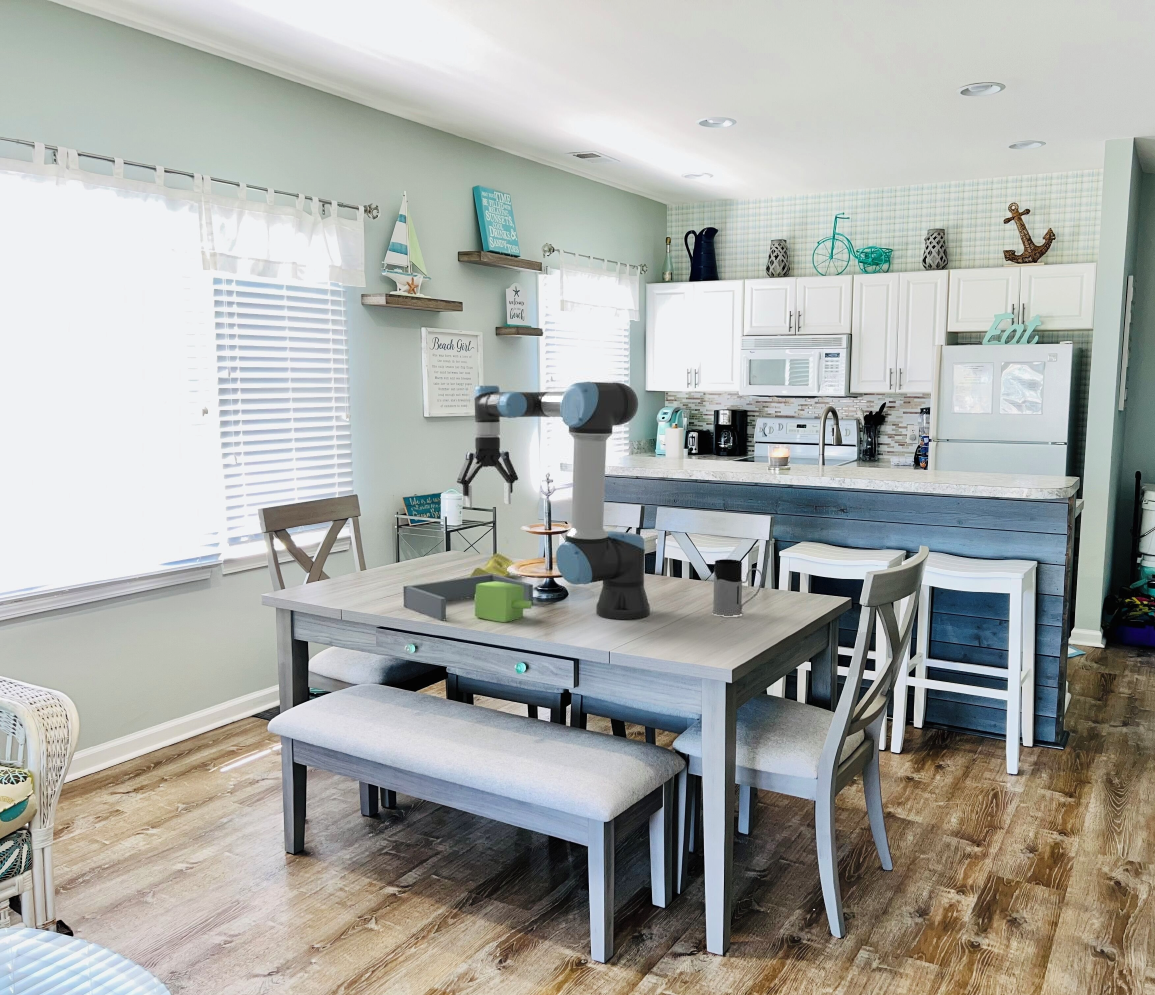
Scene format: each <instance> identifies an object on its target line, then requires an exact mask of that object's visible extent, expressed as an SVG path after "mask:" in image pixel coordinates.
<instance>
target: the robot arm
mask: <svg viewBox="0 0 1155 995" xmlns="http://www.w3.org/2000/svg"><path fill="white" fill-rule="evenodd" d="M473 399H474V400H473V401H474V420H475V421H474V423H475V424H474V425H475V426H474V428H475V430H474V431H475V432H474V433H475V434H474V435H475V436H476V437H475V438H474V440H475V441H474V442H475V444H474V445H475V452H466V453H465V461H464V463H463V464H462V468H461V470H460V472H459V475H458V477H457V480H456V483H457V484H459V485H462V495H463V496H464V498H465V499H464V500H465V507H467V508H472V507H473V488H472V487H473V486H472V485H470V484H471V483H472V481H473V480H474V478H475V477H476V476H477V474H478V472H479V471H480V470H481V469H482V468H488V467H491V468H493V467H494V468H495V469H496V470H497V472H498V473H499V474H500V475H501V477H502V478H503V479H504V481H505V482H503V503H504V504H505V505H511V502H512V501H511V500H512V498H511V494H512V493H513V491H514V490H513V489H514V488H513V484H514V483H515V482H516V481H519V477H518V474H517V472H516V469H515V467H514V466H513V464H512V461H511V458H510V452H509V451H506V450H502V451H501V450H500V449H501V437H499V436H500V435H501V427H500V426H501V425H500V424H501V422H500V419H501V418H508V419H512V418H513V419H515V418H537V417H538V418H540V417H541V418H550V417H551V418H554V417H555V418H556V417H557V418H558V417H559V418H562V422H563V423H564V424H565V425H566V426H567V427H568V433H569V435H571V437H572V439H573V465H572V494H571V495H572V499H571V527H570V528H569V529H568V530H567V531H566V532H565V541H564V542H562V543H561V544H559V545H558V548H557V549H556V551H555V552H556V553H555V562H556V566H557V570H558V572H559V574H561V577H562V579H564V580H565V581H566V582H567V583H569V584H572V585H589V584H590V583H591V584H593V583H597V582H598V583H599V582H602V585H601V586H602V587H601V590H600V594H599V597H598V601H597V603H596V606H595V613H596V615H598V616H599V617H603V618H606V619H612V618H616V619H615V620H633V619H632V618H637V619H642V617H643V618H646V617H648V616H649V615H651V614H650V613H651V610H650V609H651V607H650V603H649V601H648V600H649V599H648V596H647V592H646V589H645V554H646V553H645V552H646V549H645V548H646V547H645V539H644V537H643V536H642V535H640V534H638V533H634V532H633V533H632V532H622V531H613V530H605V529H604V513H605V486H606V485H605V482H606V481H605V480H606V461H607V460H606V458H607V456H606V455H607V441H608V439H609V438H610V437H611V436H612V435H613V426H614V427H615V426H616V427H617V426H621V425H626V424H627V423H629V422H631V420H632V419H634V418H635V416H636V414H637V413H638V409H639V398H638V396H637V393H636V392H635V391H634V389H632V387H631V386H629V385H627V384H625V383H622V382H610V381H609V382H606V381H605V382H604V381H603V382H601V381H599V382H598V381H596V382H595V381H581V382H576V383H573V384H571V385H570V386H569V387H568V388H567V389H566V390H565V391H530V392H529V391H500V387H499V385H477V386H476V387H475V388H474V398H473ZM500 458H501V459H502V462H503V464H504V466H505V467H504V466H503V464H502V463H501V461H500ZM474 460H476V461H475V462H474ZM473 462H474V464H473ZM472 465H473V466H472ZM471 467H472V468H471ZM645 616H646V617H645Z"/></svg>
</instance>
